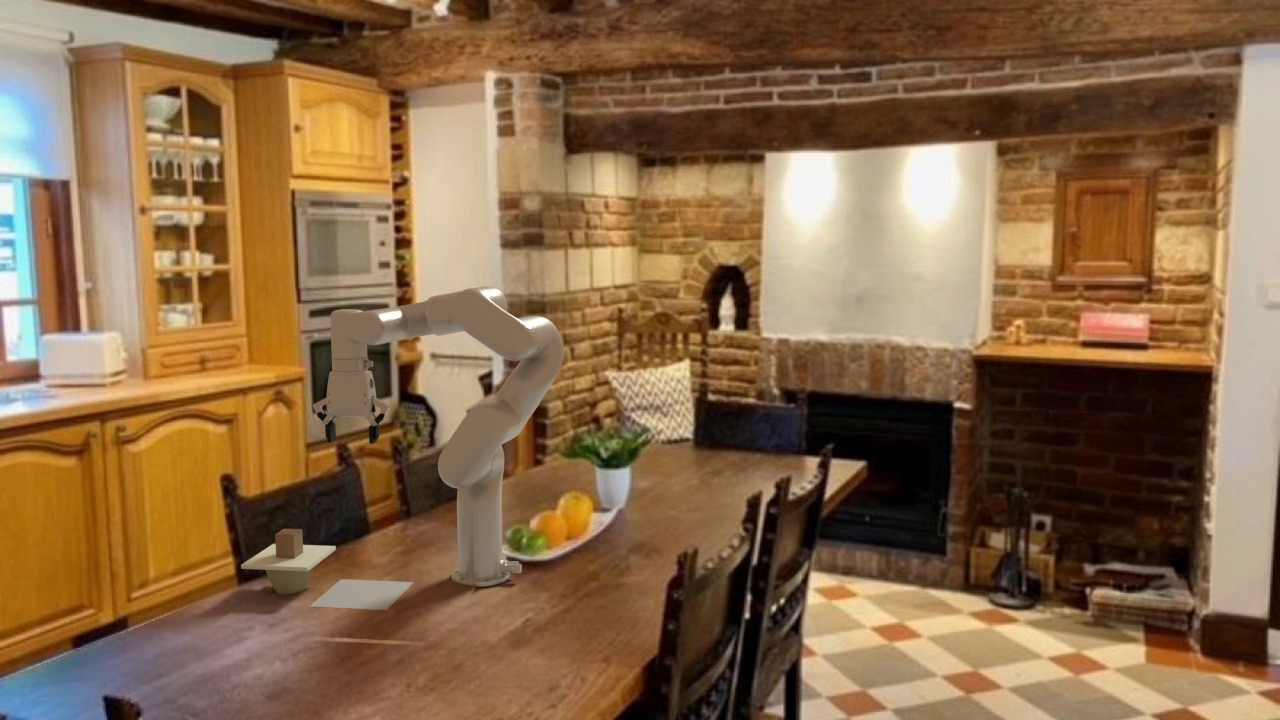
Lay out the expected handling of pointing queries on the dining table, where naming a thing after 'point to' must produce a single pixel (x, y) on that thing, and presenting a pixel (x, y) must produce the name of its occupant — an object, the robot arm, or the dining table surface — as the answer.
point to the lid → (289, 553)
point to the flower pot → (289, 580)
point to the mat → (362, 594)
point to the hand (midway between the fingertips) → (352, 441)
